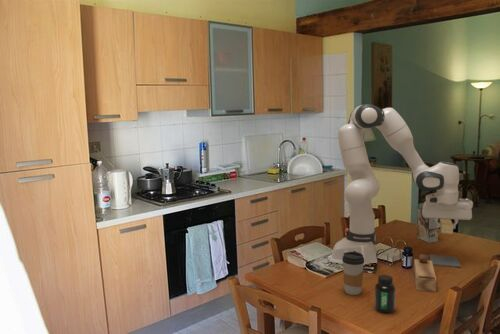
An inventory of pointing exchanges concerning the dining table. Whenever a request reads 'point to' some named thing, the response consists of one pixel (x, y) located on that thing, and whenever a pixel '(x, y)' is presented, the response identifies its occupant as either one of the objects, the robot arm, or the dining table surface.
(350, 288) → the coffee cup
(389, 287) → the supplement bottle
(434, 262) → the mat
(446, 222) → the beige rectangular block
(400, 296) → the dining table surface
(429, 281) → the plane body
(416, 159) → the robot arm
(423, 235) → the coffee box
